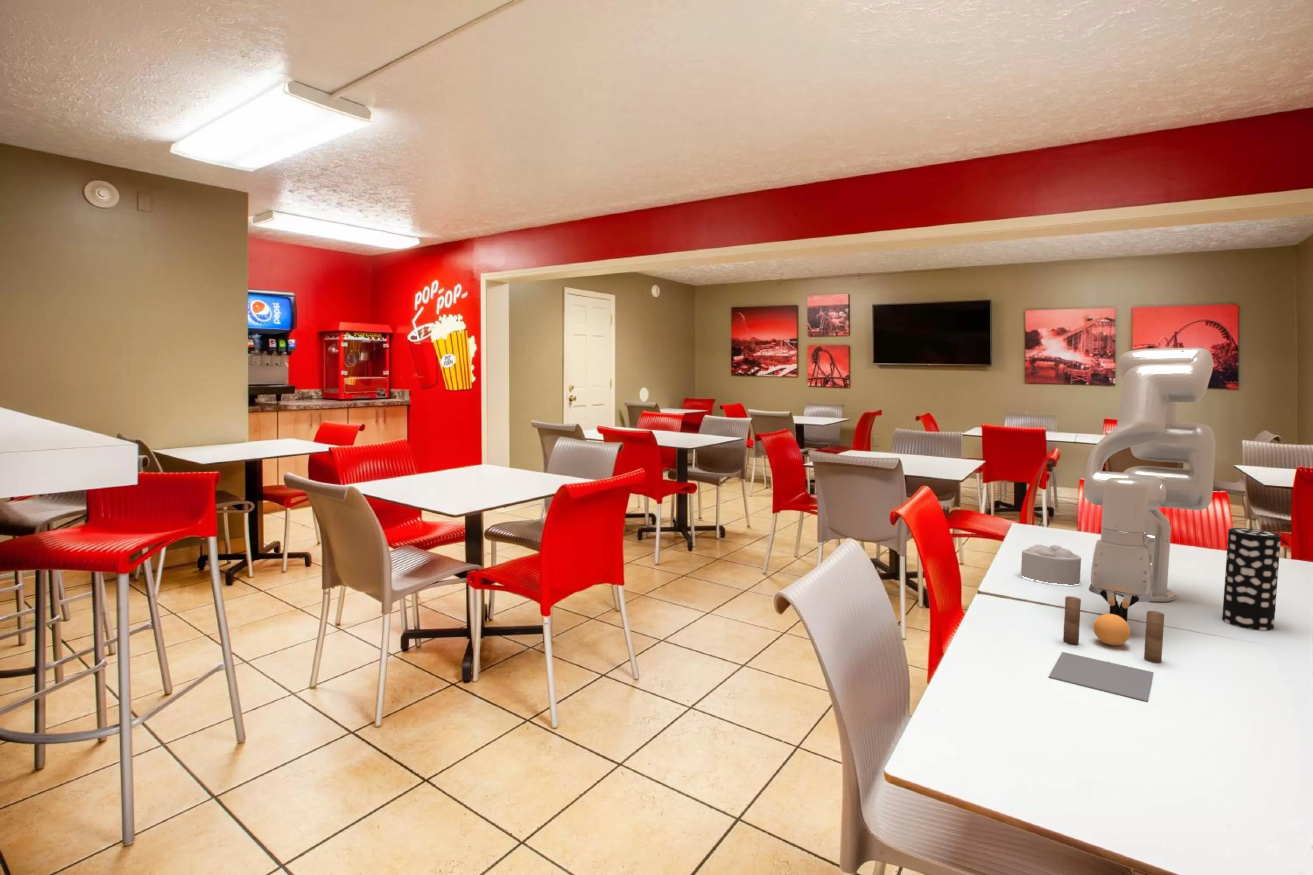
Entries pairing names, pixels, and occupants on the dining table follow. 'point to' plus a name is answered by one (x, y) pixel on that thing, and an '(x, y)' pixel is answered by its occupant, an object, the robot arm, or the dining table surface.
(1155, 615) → the post
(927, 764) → the dining table surface
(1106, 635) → the ball
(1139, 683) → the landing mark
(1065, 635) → the post
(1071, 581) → the lumpy-topped squat cylinder
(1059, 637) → the dining table surface
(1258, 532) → the white-spotted black cylinder
